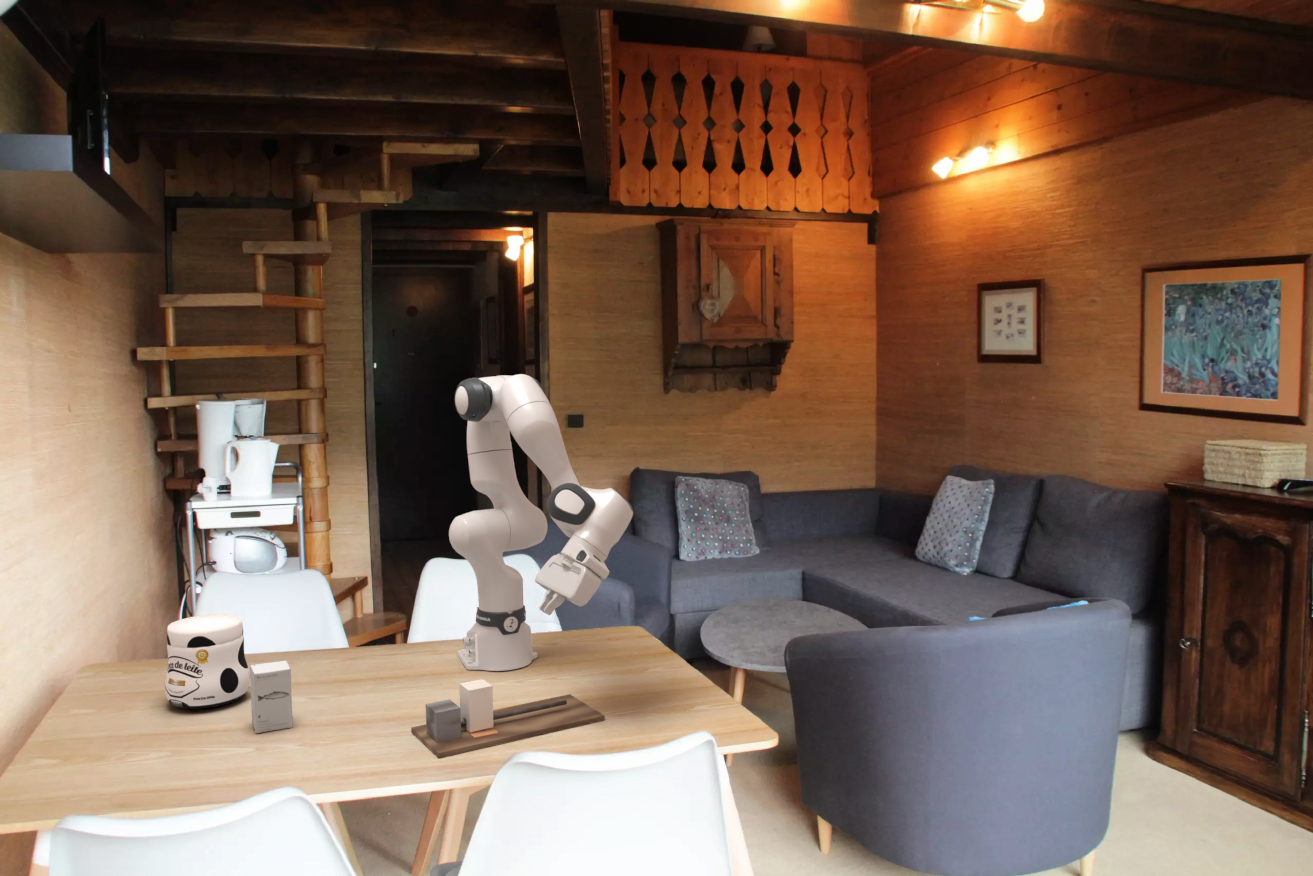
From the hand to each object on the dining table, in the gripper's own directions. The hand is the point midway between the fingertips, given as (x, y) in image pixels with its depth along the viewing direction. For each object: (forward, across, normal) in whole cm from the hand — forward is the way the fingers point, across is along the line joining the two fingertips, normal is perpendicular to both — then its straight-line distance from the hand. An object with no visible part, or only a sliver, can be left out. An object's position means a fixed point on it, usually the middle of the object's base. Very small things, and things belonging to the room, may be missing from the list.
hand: (544, 612), depth 207 cm
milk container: (+57, -48, -32) cm, 81 cm away
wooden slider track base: (+23, +2, +7) cm, 24 cm away
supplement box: (+50, -25, -24) cm, 61 cm away
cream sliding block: (+26, +2, +1) cm, 26 cm away
